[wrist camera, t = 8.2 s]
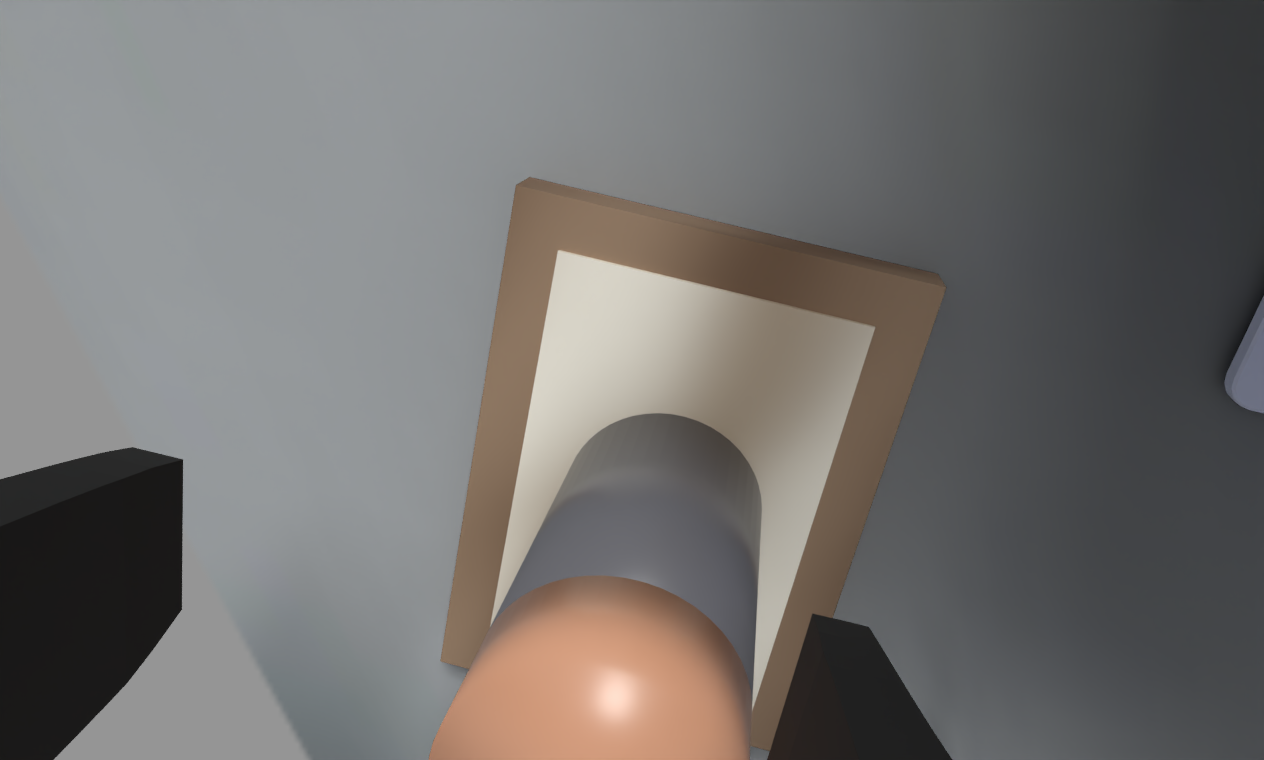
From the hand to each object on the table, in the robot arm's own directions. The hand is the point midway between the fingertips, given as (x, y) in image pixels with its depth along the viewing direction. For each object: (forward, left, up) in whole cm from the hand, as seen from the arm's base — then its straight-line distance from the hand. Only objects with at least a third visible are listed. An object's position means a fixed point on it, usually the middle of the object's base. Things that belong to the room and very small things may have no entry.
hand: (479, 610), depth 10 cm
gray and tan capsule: (-2, +3, -8) cm, 9 cm away
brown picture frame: (-2, +3, -9) cm, 10 cm away
